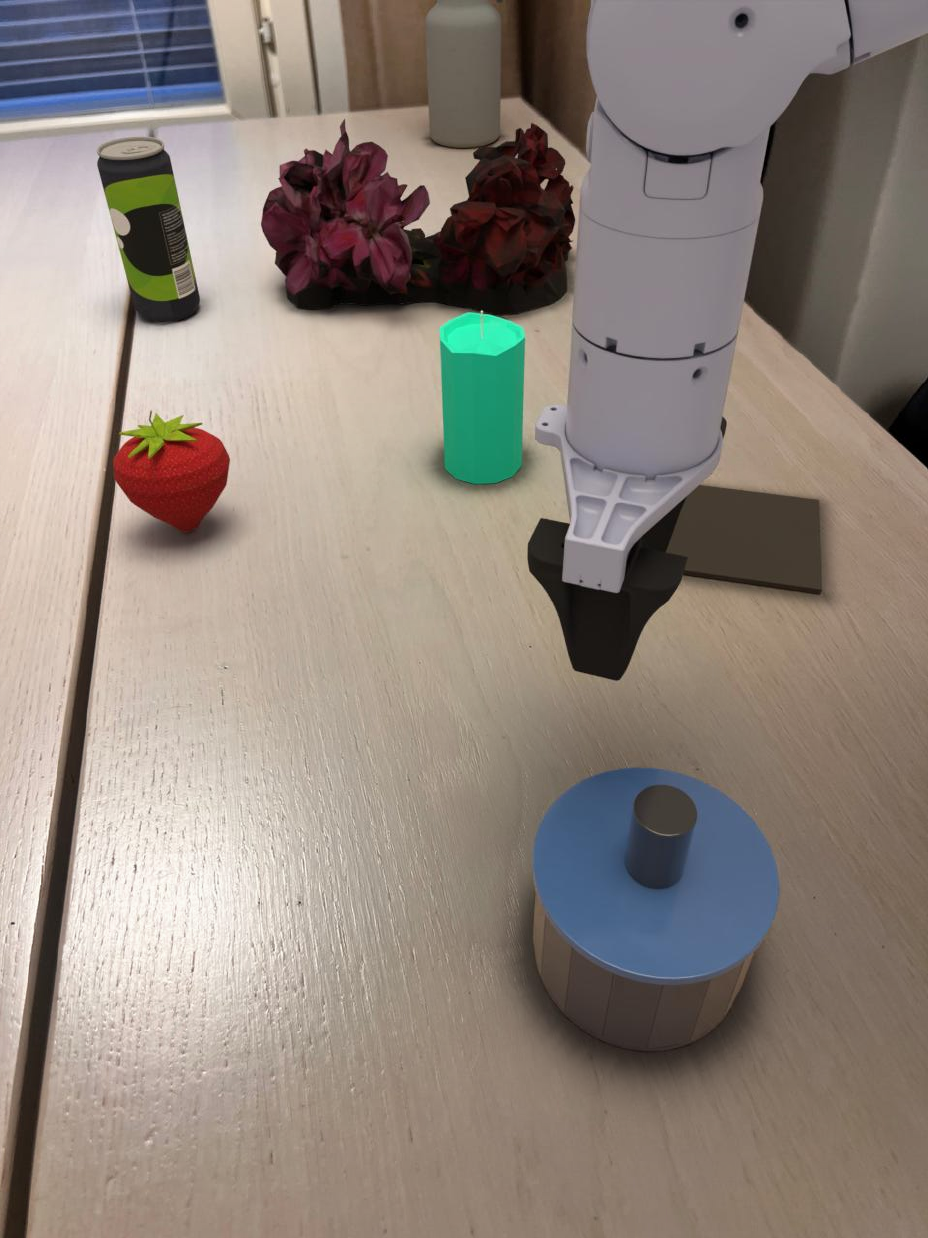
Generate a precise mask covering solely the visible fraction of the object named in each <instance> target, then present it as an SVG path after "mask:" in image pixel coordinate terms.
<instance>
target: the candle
mask: <svg viewBox="0 0 928 1238" xmlns="http://www.w3.org/2000/svg"><path fill="white" fill-rule="evenodd" d="M439 351H440V377H441V378H440V380H441V404H442V405H441V407H442V430H443V431H442V432H443V455H444V456H443V457H444V458H443V459H444V470H445V471H447V472H448V474H450V475H451V476H453V478H454V479H456V480H459V481H461V482H466V483H470V484H474V485H482V484H484V485H485V484H497V483H499V482H503V481H505V480H507V479H510V478H513V477H514V476H515V474H516V473H518V471H519V470H520V469H521V468H522V467H523V462H522V461H523V435H524V433H523V432H524V431H523V429H524V392H525V390H524V389H525V360H526V359H525V355H526V335H525V329H524V327H523V326H521V325H519V324H517V323H515V322H513V321H511V320H508V319H505V318H501V317H499V316H497V315H494V314H489V313H484V312H483V311H480V313H479V312H471V311H468V312H465V313H463V314H461V315H459V316H456V317H454V318H451V319H449V320H448V321H447V322H445V323H444V324H443V325H442V326H440V327H439Z"/></svg>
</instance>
